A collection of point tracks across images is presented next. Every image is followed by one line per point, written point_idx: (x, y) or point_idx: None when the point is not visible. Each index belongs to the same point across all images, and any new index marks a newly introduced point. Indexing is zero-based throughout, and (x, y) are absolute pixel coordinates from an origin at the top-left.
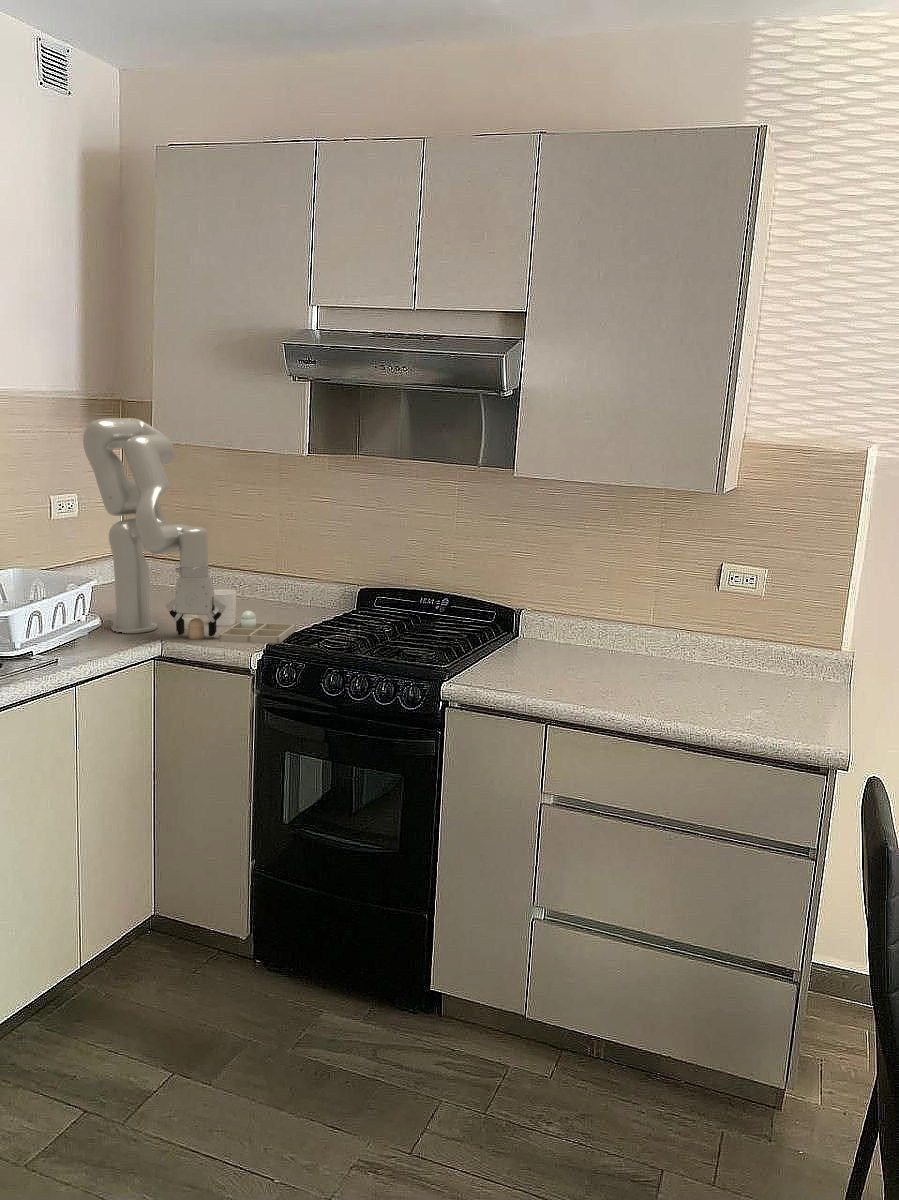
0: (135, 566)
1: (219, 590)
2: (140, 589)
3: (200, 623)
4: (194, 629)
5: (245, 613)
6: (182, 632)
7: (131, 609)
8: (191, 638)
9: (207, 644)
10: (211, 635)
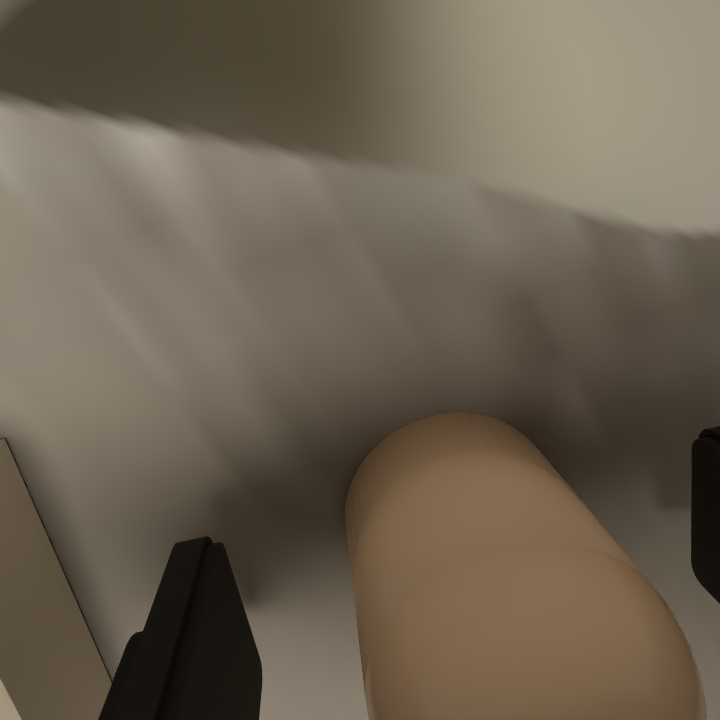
0: None
1: None
2: None
3: (400, 701)
4: (469, 518)
5: None
6: (705, 520)
7: None
8: (486, 430)
9: (122, 313)
10: (181, 560)
